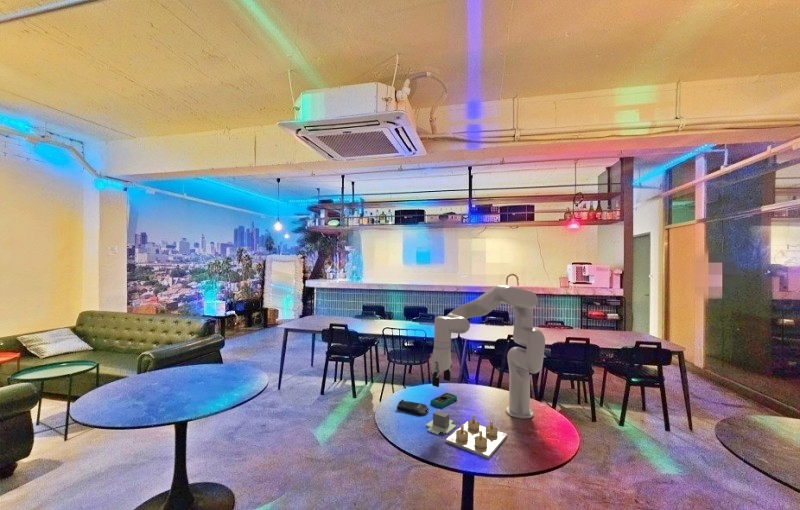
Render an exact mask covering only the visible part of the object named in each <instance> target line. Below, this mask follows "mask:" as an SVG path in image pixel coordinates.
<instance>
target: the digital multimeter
mask: <svg viewBox="0 0 800 510" xmlns="http://www.w3.org/2000/svg"><path fill="white" fill-rule="evenodd" d="M455 400H456V401H457V400H458V396H457V395H455V394H453V393H449V392H445V393H443V394H441V395H439V396H437V397H435V398H432V399H431V400H430V405H431V404H432V406H433V405H434V407H436V406H437V407H436V408H439V407H441V408H440V409H443V408H445V407H447V406H449V405H450V404H452V403H454V402H456V401H455ZM453 401H454V402H453ZM451 402H452V403H451ZM449 403H450V404H449ZM446 405H447V406H446ZM444 406H445V407H444Z"/></svg>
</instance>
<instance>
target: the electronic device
mask: <svg viewBox="0 0 800 510" xmlns="http://www.w3.org/2000/svg"><path fill="white" fill-rule="evenodd" d="M426 409H427V410H428V413H429V412H430V411H429V407H428V406H427V405H426V404H425V403H424V404H423V403H419V402H415V401H408V400H404V399H401V400H400V401H399V402H398V403H397V405H396V410H397V411H402V412H406V413H411V414H413V415H416V416H419V415H420V416H423V415H428V413H427V410H426Z"/></svg>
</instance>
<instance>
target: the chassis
mask: <svg viewBox="0 0 800 510" xmlns="http://www.w3.org/2000/svg"><path fill="white" fill-rule="evenodd" d="M507 438H508V434H507V433H505V432H502V431H499V430H498V427H496V426H494V420H492V419H491V420H490V421H489V425H486V426H483V425H481V424H480V421H478V420H476V414H472V418H471V419H469V420H468V421H466V422H465V423H463V424H460V427H458V428H457V429H456V430H455V431H454V432H453V433H452V434H450V435H449V436H448V437H447V438H446V439H445V443H446V442H447V444H450V445H451V444H452V445H451V446H454V447H457V448H459V447H460V449H461V450H465V451H468V452H470V453H473V454H475V455H478V456H481V457H483V458H486V459H490V458H491V457H492V456H493V454H494V453H495V452H496V451H497V450H498V449H499V447H500V446H501V445H502V444H501V443H503V442H505V440H507ZM495 450H496V451H495Z"/></svg>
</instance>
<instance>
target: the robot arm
mask: <svg viewBox="0 0 800 510" xmlns="http://www.w3.org/2000/svg"><path fill="white" fill-rule="evenodd" d="M538 299H539V298H538V296H537V294H536V293H535V292H534V291H531V290H526V289H522V288H518V287H514V286H511V285H510V286H509V285H501V284H497V285H494V286H492V287H491V288H489V289H488V290H486V291H485V292H484V293H483V294H481V295H480V296H478V297H477V298H476V299H473V300H471V301H469V302H466V303H464V304H462V305H459V306H457V307H455V308H454V309H453V310H452V311H450V312H449V313H447V315H445V316H443V315H438V316H436V317H435V318H434V328H433V329H434V331H433V332H434V333H433V335H434V336H433V349H432V350H433V351H432V355H431V366H430V372H431V373H430V374H431V377H432V381H431V382H432V384H431V385H432V386H433V387H435V388H439V387H440V377H439V376H440V374H441V373H442V372H443V381H448V382H450V381H451V372H452V367H453V366H452V365H453V360H452V351H451V349H452V333H453V334H459V335H460V334H466V333H467V332H469V330H470V327H471V325H470V324H471V323H470V321H469V320H468V319H471V318H476V317H484V316H487V315H488V314H489V313H491V312H492V311H493V310H494V309H496V308H498V307H499V306H500V305H501V304H504V305H509V306H511V308H512V310H513V312H514V324H513V331H512V339H513V342H514V343H515V344H518V345H520V346H523V347H525V348H523V347H520V346H513V347H511V348H510V349H509V350H508V352H507V354H506V357H507V364H508V372H509V375H508V377H509V381H508V385H509V386H508V387H509V388H508V406H506V408H505V412H506V413H507V415H508V416H511V417H513V418H515V419H523V420H525V419H527V420H528V419H531V418H533V417H534V411H533V410H532V409H531V376H530V374H537V373H539V372H540V371H541V369H542V367H543V364H544V357H545V350H546V349H545V347H546V339H545V335H544V333H543V332H542V331H541V330H540V329H537V328H534V313H533V310H532V309H534V308H536V307H537V305H538V302H539V300H538Z"/></svg>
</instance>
